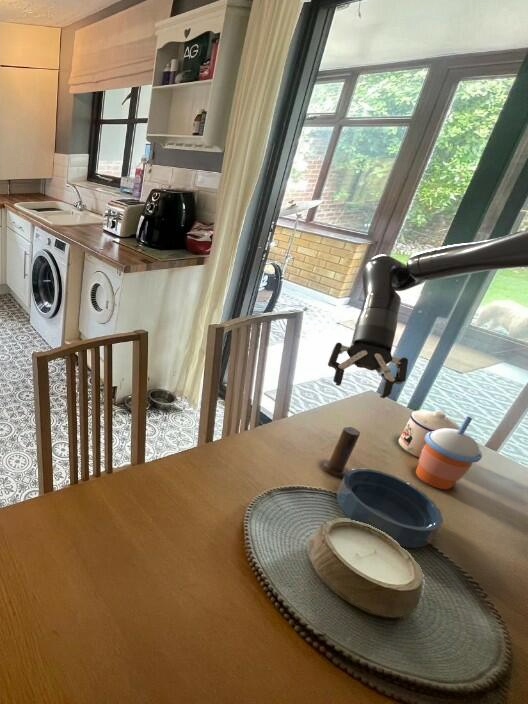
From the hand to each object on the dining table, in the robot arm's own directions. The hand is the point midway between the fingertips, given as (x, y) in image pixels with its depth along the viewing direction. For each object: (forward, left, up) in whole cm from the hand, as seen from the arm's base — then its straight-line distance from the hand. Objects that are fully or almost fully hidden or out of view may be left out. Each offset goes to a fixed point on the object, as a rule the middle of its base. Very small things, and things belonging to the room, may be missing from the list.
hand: (360, 390), depth 97 cm
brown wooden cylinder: (0, +9, -18) cm, 20 cm away
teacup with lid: (-18, -11, -18) cm, 28 cm away
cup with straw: (-19, -1, -18) cm, 26 cm away
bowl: (-8, +19, -18) cm, 27 cm away
